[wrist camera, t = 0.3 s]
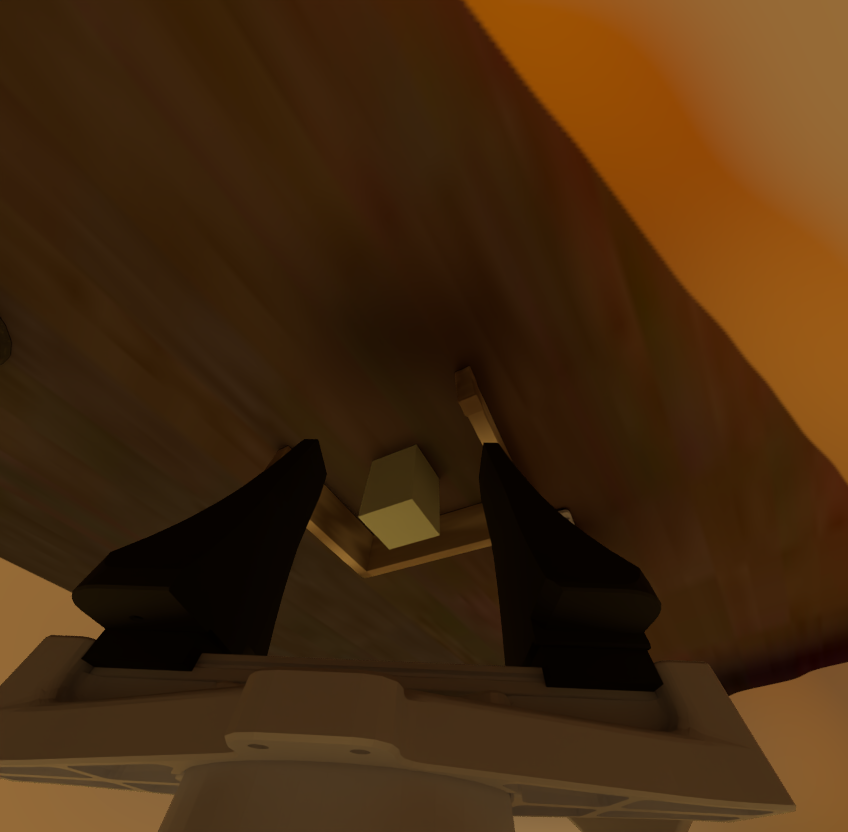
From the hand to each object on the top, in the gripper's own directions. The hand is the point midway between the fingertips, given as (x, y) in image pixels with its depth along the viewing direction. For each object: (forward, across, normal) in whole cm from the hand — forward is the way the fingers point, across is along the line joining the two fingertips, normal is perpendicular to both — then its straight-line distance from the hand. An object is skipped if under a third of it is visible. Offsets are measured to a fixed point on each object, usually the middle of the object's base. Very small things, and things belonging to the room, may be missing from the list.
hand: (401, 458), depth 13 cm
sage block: (+10, +1, +10) cm, 15 cm away
